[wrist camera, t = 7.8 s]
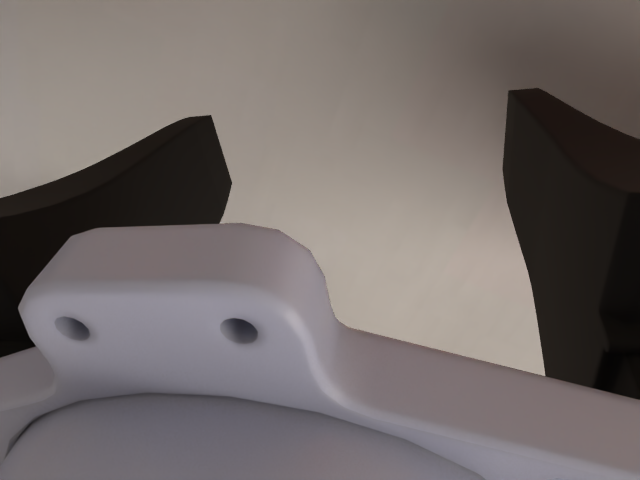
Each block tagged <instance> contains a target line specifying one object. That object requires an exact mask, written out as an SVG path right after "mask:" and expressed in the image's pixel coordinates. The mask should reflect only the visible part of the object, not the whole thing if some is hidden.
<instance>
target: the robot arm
mask: <svg viewBox="0 0 640 480" xmlns="http://www.w3.org/2000/svg"><path fill="white" fill-rule="evenodd" d="M503 176H504V184H505V191H506V198H507V204H508V207H509V210H510V214H511V217H512V221H513V224H514V227H515V231H516V234H517V237H518V240H519V244H520V247H521V250H522V253H523V257H524V260H525V263H526V266H527V270H528V273H529V278H530V282H531V286H532V291H533V297H534V303H535V309H536V315H537V321H538V327H539V334H540V341H541V347H542V354H543V360H544V368H545V375H546V376H542V375H538V374H534V373H530V372H526V371H522V370H518V369H514V368H510V367H506V366H502V365H498V364H494V363H490V362H486V361H482V360H478V359H474V358H470V357H466V356H462V355H458V354H453V353H449V352H445V351H441V350H437V349H433V348H429V347H425V346H421V345H417V344H413V343H409V342H405V341H401V340H397V339H393V338H389V337H385V336H381V335H377V334H373V333H369V332H365V331H361V330H357V329H353V328H349V327H347V326H346V325H344V324H342V323H341V322H339V321H338V320H337V318H336V317H335V315H334V312H333V310H332V307H331V304H330V299H329V294H328V290H327V285H326V280H325V276H324V274H323V273H322V271H321V269H320V267H319V265H318V264H317V262H316V260H315V258H314V257H313V255H312V253H311V251H310V250H309V249H307V248H306V247H304V246H303V245H301V244H300V243H298V242H297V241H295V240H294V239H292V238H290V237H289V236H287V235H286V234H284V233H283V232H281V231H280V230H277V229H271V228H266V227H260V226H255V225H249V224H244V223H226V224H219V223H220V221H221V218H222V216H223V214H224V211H225V208H226V204H227V201H228V197H229V193H230V189H231V185H232V181H231V178H230V175H229V172H228V168H227V165H226V162H225V159H224V155H223V152H222V149H221V146H220V142H219V139H218V136H217V133H216V129H215V126H214V123H213V120H212V117H211V115H208V116H196V117H188V118H185V119H182V120H179V121H177V122H175V123H172V124H170V125H168V126H166V127H164V128H162V129H161V130H159V131H157V132H155V133H153V134H151V135H149V136H148V137H146V138H144V139H142V140H140V141H138V142H137V143H135V144H133V145H131V146H129V147H127V148H125V149H123V150H122V151H120V152H118V153H116V154H114V155H112V156H110V157H108V158H106V159H104V160H102V161H100V162H98V163H96V164H94V165H92V166H90V167H87V168H85V169H83V170H81V171H78V172H76V173H73V174H71V175H68V176H66V177H63V178H61V179H58V180H56V181H53V182H50V183H47V184H44V185H41V186H38V187H35V188H32V189H29V190H26V191H23V192H20V193H17V194H14V195H10V196H7V197H3V198H0V480H640V139H637V138H634V137H632V136H629V135H627V134H624V133H622V132H620V131H618V130H615V129H613V128H611V127H609V126H607V125H605V124H603V123H600V122H598V121H597V120H595V119H593V118H591V117H589V116H587V115H585V114H583V113H582V112H580V111H578V110H576V109H575V108H573V107H571V106H569V105H568V104H566V103H564V102H563V101H561V100H559V99H558V98H556V97H554V96H553V95H551V94H549V93H547V92H545V91H543V90H541V89H539V88H533V89H521V90H509V91H508V104H507V118H506V131H505V144H504V158H503Z"/></svg>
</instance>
